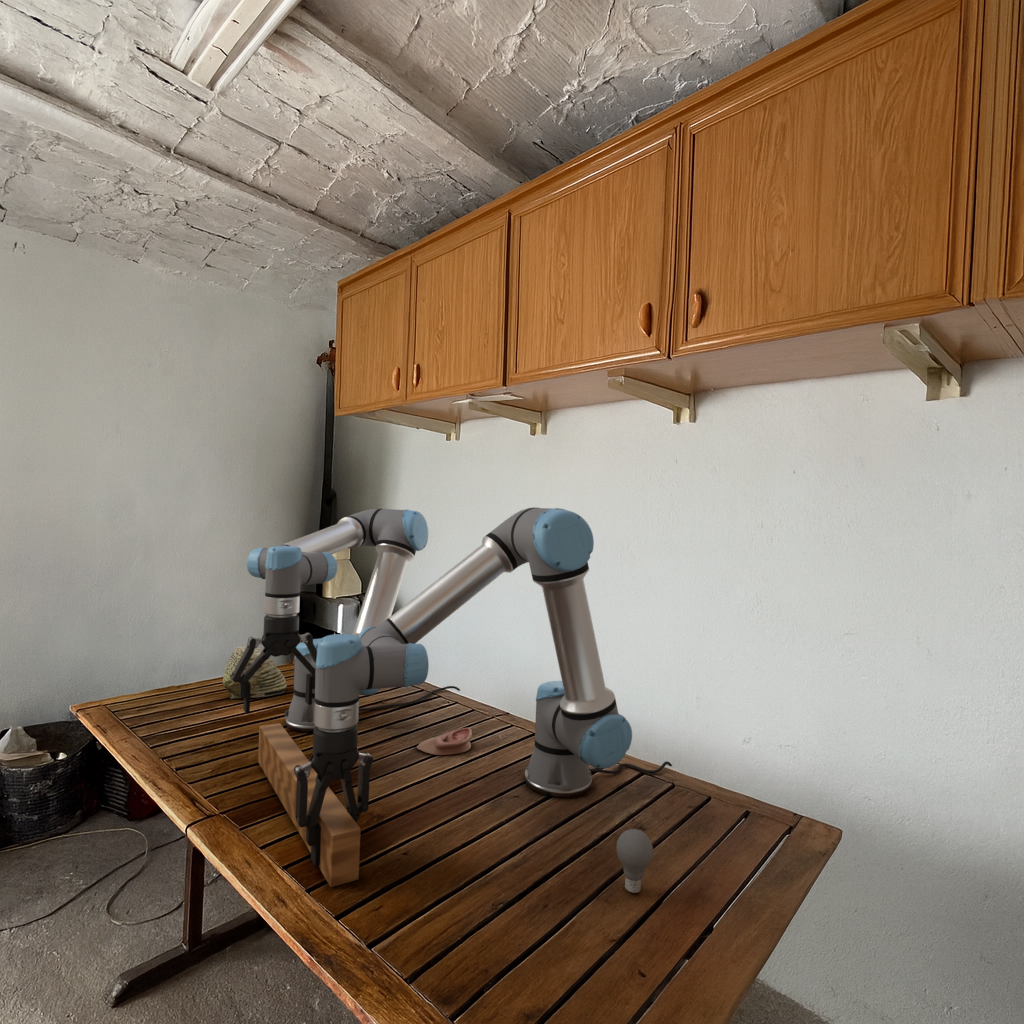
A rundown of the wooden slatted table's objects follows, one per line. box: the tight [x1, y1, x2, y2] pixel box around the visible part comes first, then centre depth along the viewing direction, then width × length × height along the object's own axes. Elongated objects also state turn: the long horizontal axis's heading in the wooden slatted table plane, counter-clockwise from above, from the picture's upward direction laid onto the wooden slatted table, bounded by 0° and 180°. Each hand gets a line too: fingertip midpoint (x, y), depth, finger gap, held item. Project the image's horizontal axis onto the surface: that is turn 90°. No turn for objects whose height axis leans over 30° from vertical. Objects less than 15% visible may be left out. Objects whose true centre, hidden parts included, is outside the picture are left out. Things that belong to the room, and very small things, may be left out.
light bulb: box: [615, 828, 654, 894], centre depth 106 cm, size 6×6×10 cm
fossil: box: [222, 646, 288, 699], centre depth 198 cm, size 9×18×15 cm, turn 132°
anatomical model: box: [416, 727, 473, 756], centre depth 163 cm, size 13×4×12 cm
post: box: [257, 722, 361, 888], centre depth 128 cm, size 56×5×9 cm, turn 33°
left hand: (278, 707), depth 144 cm, fingers open, 13 cm apart
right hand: (330, 857), depth 111 cm, fingers closed on post, 5 cm apart
